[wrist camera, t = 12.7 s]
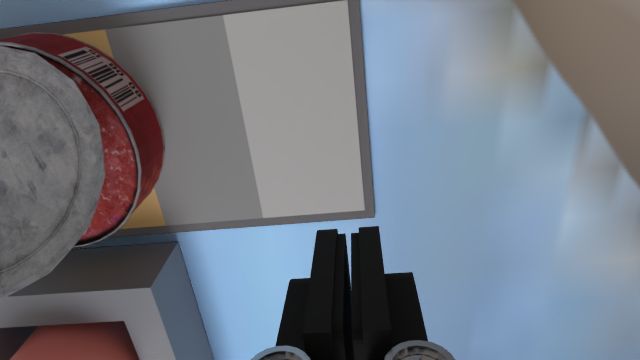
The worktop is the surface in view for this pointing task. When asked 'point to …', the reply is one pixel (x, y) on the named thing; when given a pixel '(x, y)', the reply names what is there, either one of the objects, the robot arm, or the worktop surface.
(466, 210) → the worktop surface
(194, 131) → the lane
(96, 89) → the canned food
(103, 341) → the dome button
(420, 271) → the worktop surface
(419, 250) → the worktop surface
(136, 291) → the dome housing
